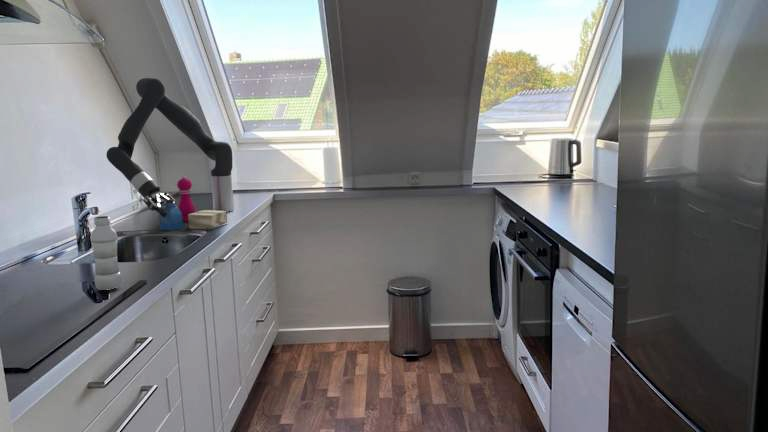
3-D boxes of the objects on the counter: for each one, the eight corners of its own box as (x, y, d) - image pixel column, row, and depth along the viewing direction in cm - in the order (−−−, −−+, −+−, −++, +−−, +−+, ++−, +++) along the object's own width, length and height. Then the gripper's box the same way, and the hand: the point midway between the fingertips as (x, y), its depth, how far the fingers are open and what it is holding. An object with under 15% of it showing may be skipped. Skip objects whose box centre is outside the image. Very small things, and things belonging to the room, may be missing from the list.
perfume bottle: (183, 227, 231) (180, 199, 229) (171, 230, 226) (169, 201, 224) (171, 226, 234) (169, 198, 232) (160, 229, 228) (157, 200, 226)
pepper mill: (190, 222, 243) (186, 176, 239) (175, 221, 245) (171, 176, 241) (198, 218, 250) (195, 174, 246) (184, 218, 252) (180, 174, 248)
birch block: (204, 223, 241) (203, 209, 240) (227, 224, 238) (226, 211, 236) (189, 228, 230) (188, 214, 229) (212, 230, 227) (211, 215, 226)
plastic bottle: (101, 286, 154) (93, 215, 150) (126, 285, 154) (119, 214, 151) (91, 294, 148) (82, 220, 144) (117, 293, 148) (110, 219, 144)
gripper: (138, 181, 221) (166, 210, 221) (161, 177, 235) (187, 204, 234) (128, 194, 224) (156, 223, 223) (151, 189, 237) (177, 216, 237)
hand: (172, 213), depth 229 cm, fingers open, 8 cm apart
